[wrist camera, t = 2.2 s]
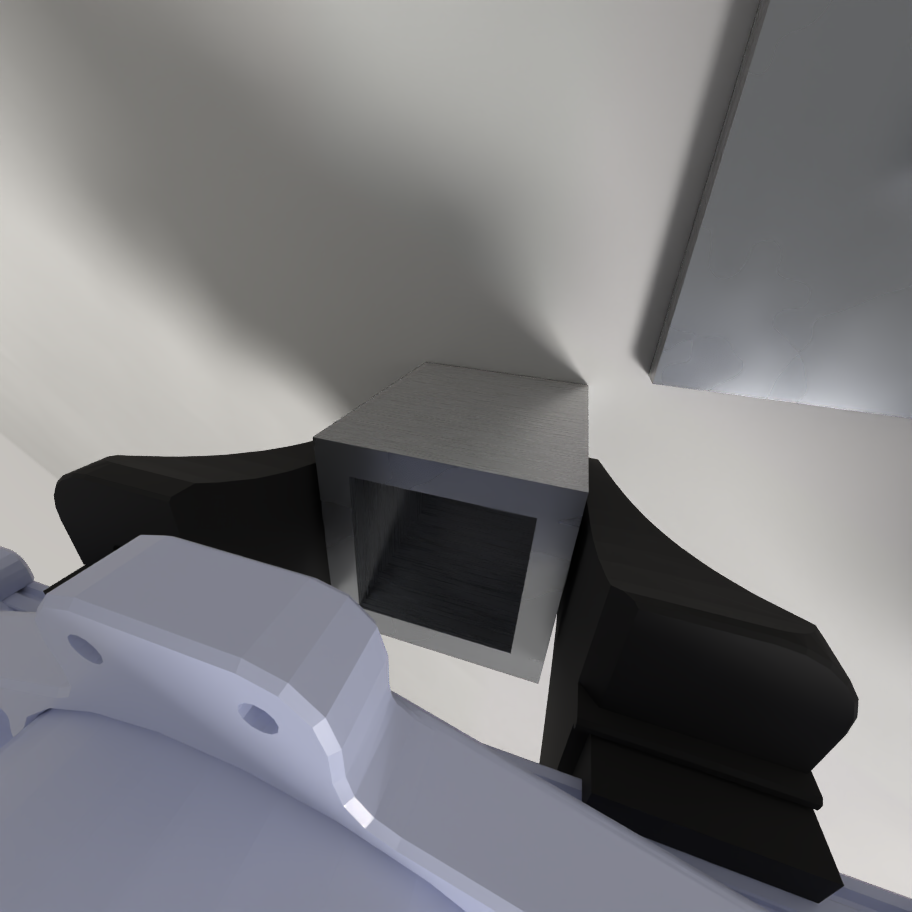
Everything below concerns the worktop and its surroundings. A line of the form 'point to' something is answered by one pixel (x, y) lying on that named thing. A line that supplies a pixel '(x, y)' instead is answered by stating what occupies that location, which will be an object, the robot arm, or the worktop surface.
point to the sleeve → (458, 510)
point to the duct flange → (806, 219)
